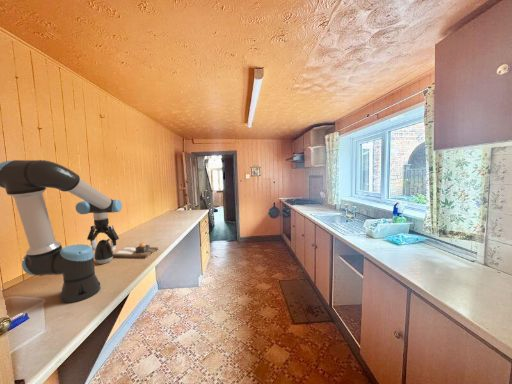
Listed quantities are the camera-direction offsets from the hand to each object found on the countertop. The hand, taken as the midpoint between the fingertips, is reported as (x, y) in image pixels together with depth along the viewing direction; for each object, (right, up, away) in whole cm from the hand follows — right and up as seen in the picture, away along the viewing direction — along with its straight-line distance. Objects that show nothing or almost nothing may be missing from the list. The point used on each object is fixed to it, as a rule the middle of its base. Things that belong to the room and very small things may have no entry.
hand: (104, 250), depth 137 cm
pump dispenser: (0, -8, 0) cm, 8 cm away
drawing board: (+13, -7, +14) cm, 20 cm away
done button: (+18, -2, +13) cm, 23 cm away
